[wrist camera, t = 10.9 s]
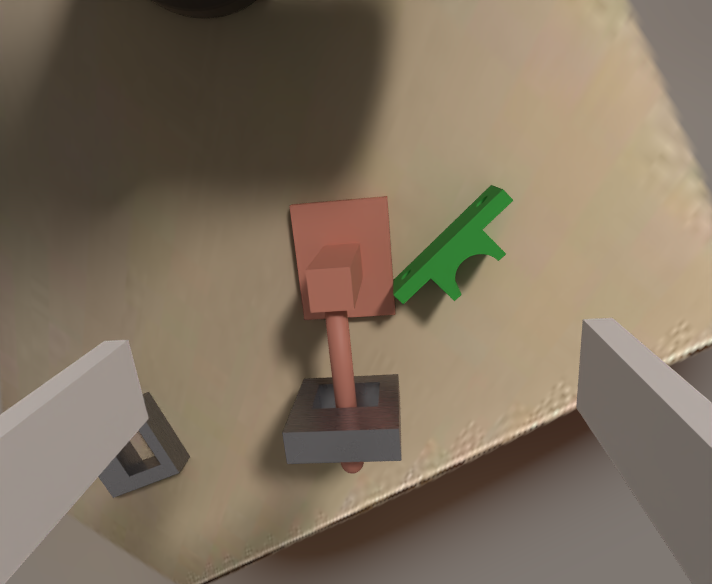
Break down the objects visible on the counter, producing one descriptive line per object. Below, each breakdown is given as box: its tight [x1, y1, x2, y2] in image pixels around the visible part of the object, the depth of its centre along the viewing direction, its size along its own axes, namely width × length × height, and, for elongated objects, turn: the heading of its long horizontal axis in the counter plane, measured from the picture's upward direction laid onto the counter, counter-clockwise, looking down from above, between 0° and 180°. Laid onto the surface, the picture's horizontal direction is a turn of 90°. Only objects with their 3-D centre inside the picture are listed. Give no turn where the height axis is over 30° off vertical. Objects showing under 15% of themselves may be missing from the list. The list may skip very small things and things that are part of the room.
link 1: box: [98, 392, 190, 498], centre depth 46 cm, size 8×8×2 cm
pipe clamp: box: [393, 185, 513, 304], centre depth 37 cm, size 11×4×5 cm, turn 137°
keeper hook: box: [290, 196, 395, 473], centre depth 37 cm, size 20×8×10 cm, turn 5°
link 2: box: [282, 374, 401, 464], centre depth 36 cm, size 2×8×8 cm, turn 95°
